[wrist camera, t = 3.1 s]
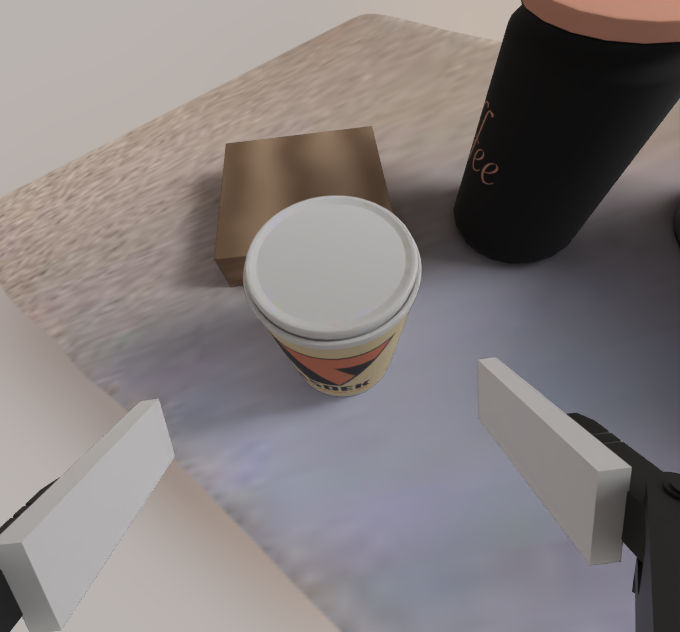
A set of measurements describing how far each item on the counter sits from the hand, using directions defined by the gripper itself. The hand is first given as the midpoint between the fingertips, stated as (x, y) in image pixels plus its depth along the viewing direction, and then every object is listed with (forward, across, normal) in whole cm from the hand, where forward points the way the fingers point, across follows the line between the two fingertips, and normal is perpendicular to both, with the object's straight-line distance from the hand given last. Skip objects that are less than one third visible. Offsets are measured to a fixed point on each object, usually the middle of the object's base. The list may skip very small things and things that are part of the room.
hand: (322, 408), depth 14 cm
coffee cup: (+14, +1, -3) cm, 14 cm away
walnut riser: (+24, -1, +8) cm, 25 cm away
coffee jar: (+21, +18, +5) cm, 28 cm away
